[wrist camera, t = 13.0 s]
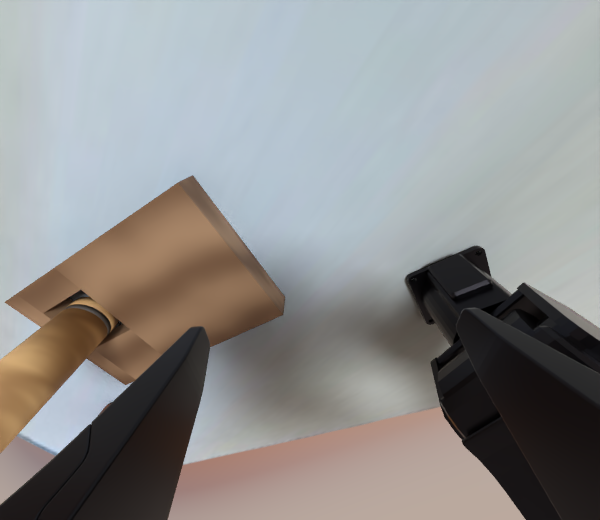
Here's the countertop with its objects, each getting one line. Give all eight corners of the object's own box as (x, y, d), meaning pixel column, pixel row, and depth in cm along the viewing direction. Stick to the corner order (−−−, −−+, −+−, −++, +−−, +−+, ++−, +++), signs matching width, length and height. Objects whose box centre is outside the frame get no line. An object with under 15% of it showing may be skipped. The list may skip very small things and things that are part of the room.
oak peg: (136, 309, 25) (-24, 493, 13) (109, 324, 26) (-63, 507, 14) (103, 280, 23) (-120, 460, 11) (75, 297, 24) (-157, 479, 12)
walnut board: (284, 296, 24) (283, 314, 22) (138, 365, 29) (125, 385, 27) (192, 175, 18) (178, 182, 16) (32, 285, 23) (4, 302, 21)
